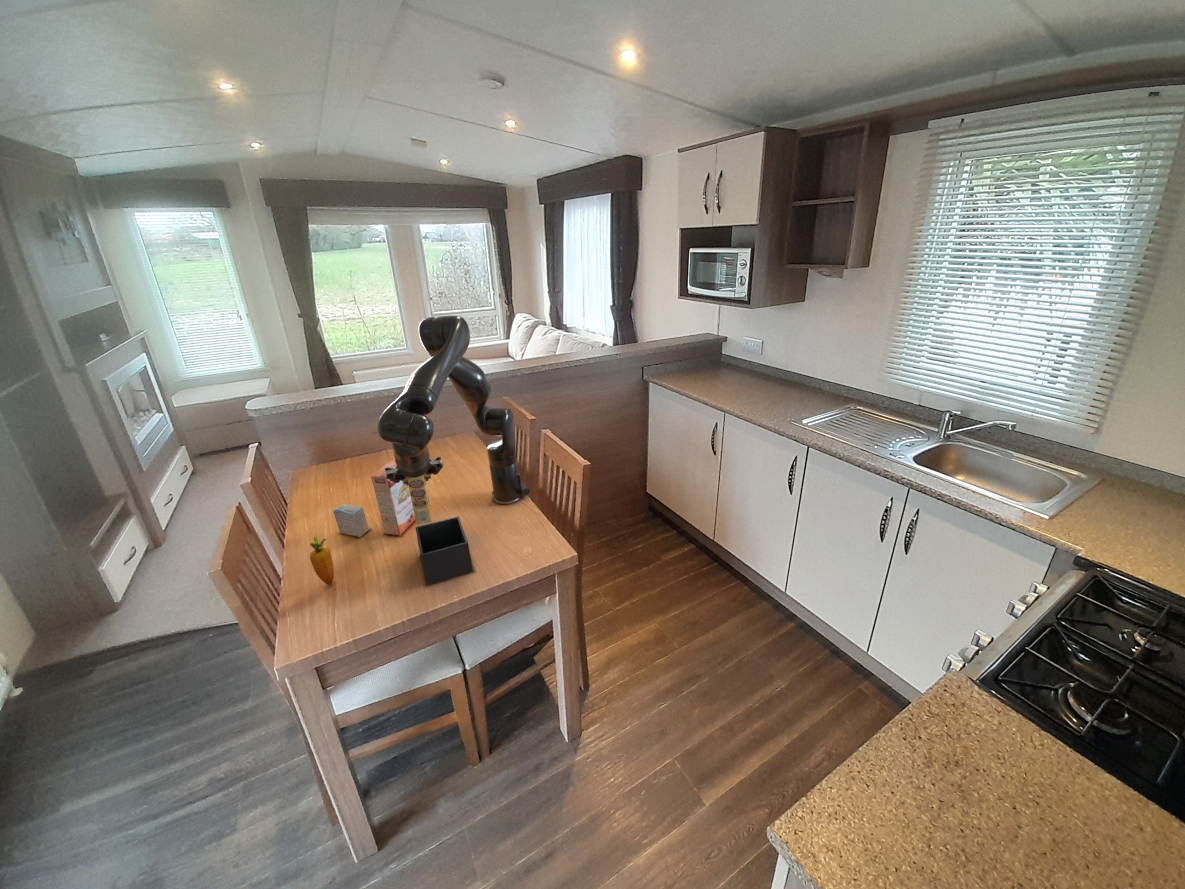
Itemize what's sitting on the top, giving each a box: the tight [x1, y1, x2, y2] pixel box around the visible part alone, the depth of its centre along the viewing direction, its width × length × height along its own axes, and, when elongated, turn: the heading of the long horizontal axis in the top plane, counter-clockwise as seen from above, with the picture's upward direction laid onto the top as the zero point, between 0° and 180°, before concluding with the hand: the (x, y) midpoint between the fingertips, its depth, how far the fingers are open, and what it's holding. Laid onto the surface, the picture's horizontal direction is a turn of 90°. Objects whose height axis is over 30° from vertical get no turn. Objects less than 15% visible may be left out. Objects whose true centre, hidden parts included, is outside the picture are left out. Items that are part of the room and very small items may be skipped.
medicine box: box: [332, 503, 370, 538], centre depth 149 cm, size 8×4×9 cm, turn 71°
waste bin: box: [414, 515, 474, 586], centre depth 133 cm, size 12×14×10 cm
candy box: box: [408, 476, 433, 526], centre depth 126 cm, size 9×4×15 cm, turn 20°
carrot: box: [309, 536, 335, 586], centre depth 125 cm, size 5×5×15 cm
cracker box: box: [370, 457, 416, 536], centre depth 150 cm, size 14×6×21 cm, turn 168°
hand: (416, 479), depth 127 cm, fingers closed on candy box, 4 cm apart
